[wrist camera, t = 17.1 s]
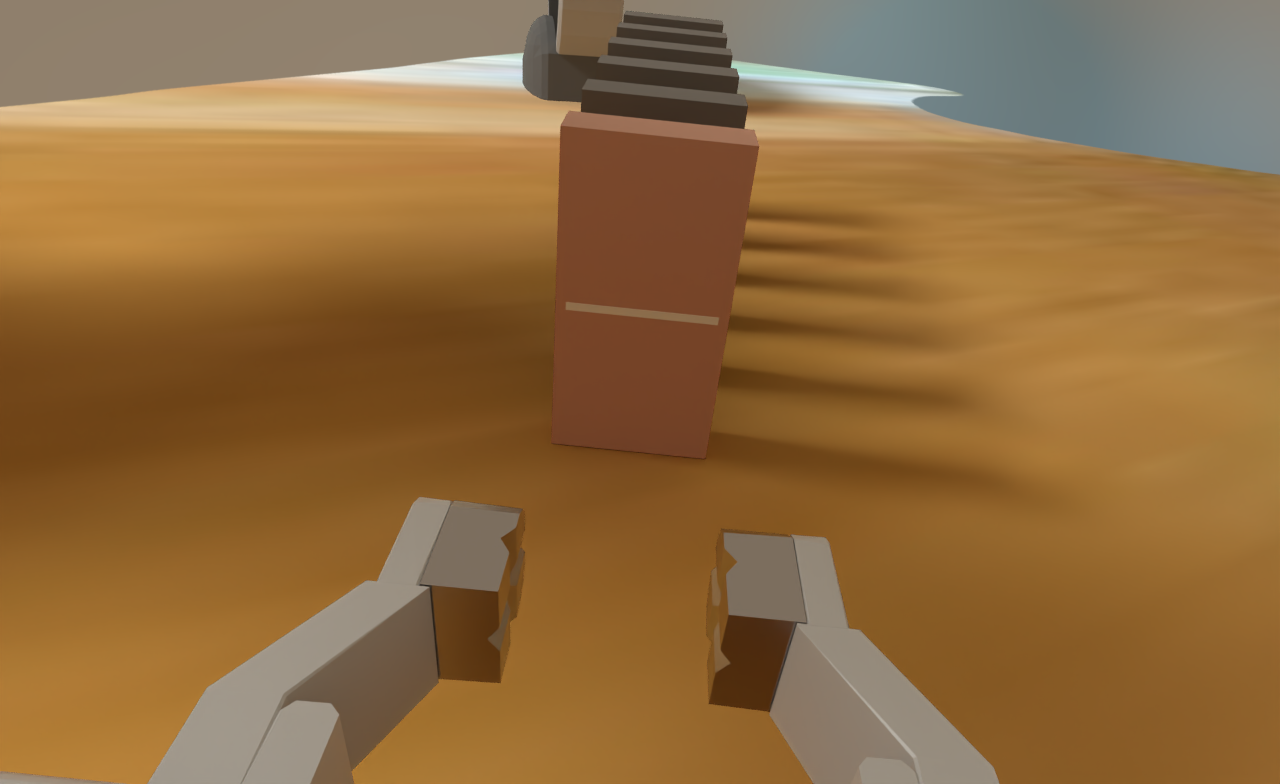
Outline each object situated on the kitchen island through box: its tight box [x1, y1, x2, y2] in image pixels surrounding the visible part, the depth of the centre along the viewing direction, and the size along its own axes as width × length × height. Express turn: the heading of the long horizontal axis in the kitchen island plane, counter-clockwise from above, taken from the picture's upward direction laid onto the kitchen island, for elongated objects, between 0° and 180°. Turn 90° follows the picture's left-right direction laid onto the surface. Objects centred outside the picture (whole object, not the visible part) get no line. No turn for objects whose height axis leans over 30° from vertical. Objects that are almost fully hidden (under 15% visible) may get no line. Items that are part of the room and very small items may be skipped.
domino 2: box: [581, 79, 748, 129], centre depth 26 cm, size 2×5×10 cm, turn 87°
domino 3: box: [596, 55, 739, 94], centre depth 30 cm, size 2×5×10 cm, turn 87°
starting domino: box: [551, 111, 759, 459], centre depth 22 cm, size 2×5×10 cm, turn 87°
